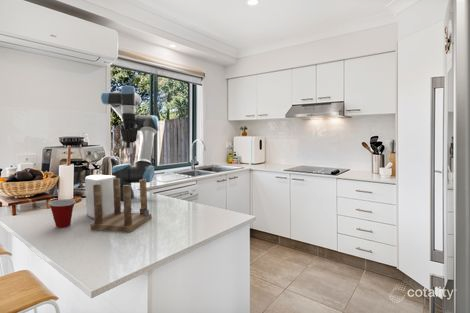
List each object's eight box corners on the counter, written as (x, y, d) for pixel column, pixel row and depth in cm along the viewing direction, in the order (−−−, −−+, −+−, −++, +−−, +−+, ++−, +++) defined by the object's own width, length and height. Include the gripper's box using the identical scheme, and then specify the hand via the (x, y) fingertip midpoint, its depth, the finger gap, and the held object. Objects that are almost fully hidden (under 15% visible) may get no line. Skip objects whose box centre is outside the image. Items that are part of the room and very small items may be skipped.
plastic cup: (67, 230, 122) (66, 204, 121) (44, 229, 123) (42, 204, 122) (81, 222, 133) (80, 198, 132) (60, 222, 133) (59, 198, 132)
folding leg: (145, 209, 139) (144, 179, 137) (148, 210, 137) (147, 179, 135) (139, 210, 137) (138, 179, 135) (142, 211, 135) (141, 180, 133)
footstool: (151, 218, 139) (150, 179, 137) (130, 232, 120) (128, 186, 118) (116, 216, 143) (114, 177, 141) (90, 229, 123) (88, 185, 121)
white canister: (100, 220, 137) (98, 177, 135) (76, 218, 139) (74, 176, 137) (118, 211, 151) (117, 173, 149) (96, 210, 154) (94, 172, 152)
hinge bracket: (144, 213, 140) (144, 207, 139) (149, 215, 136) (148, 209, 136) (139, 214, 138) (139, 208, 138) (144, 216, 134) (144, 210, 134)
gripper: (123, 112, 148) (125, 154, 150) (142, 113, 159) (143, 153, 161) (114, 112, 151) (116, 154, 153) (133, 114, 162) (134, 152, 165)
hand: (130, 153), depth 157 cm, fingers closed
